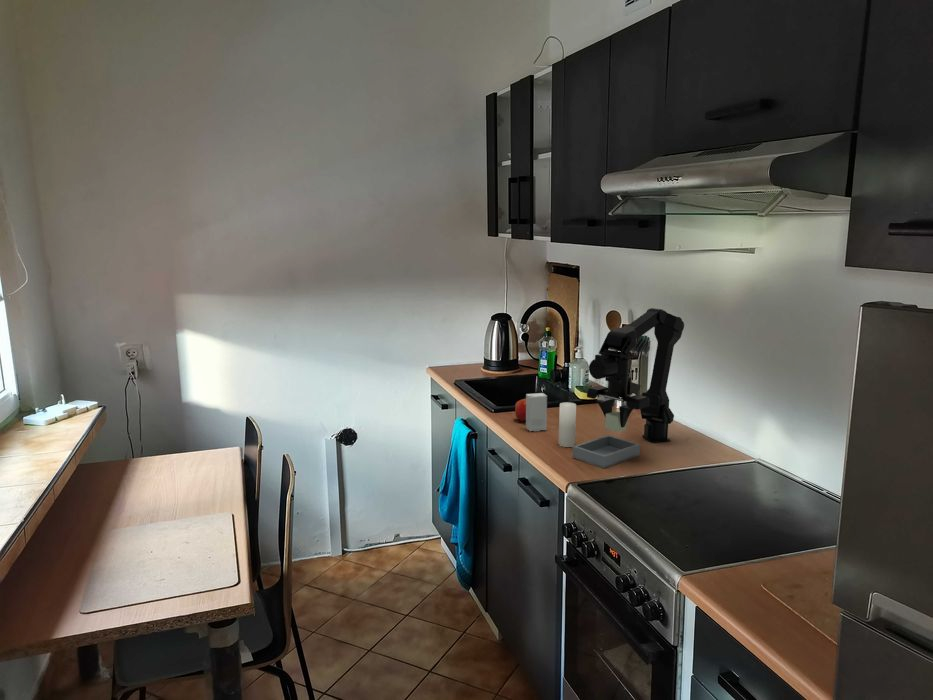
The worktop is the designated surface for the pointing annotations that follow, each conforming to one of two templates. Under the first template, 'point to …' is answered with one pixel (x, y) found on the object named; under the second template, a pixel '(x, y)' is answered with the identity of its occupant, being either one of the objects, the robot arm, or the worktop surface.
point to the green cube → (614, 422)
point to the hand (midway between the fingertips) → (616, 425)
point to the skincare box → (536, 412)
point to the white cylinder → (567, 424)
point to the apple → (521, 409)
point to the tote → (606, 451)
